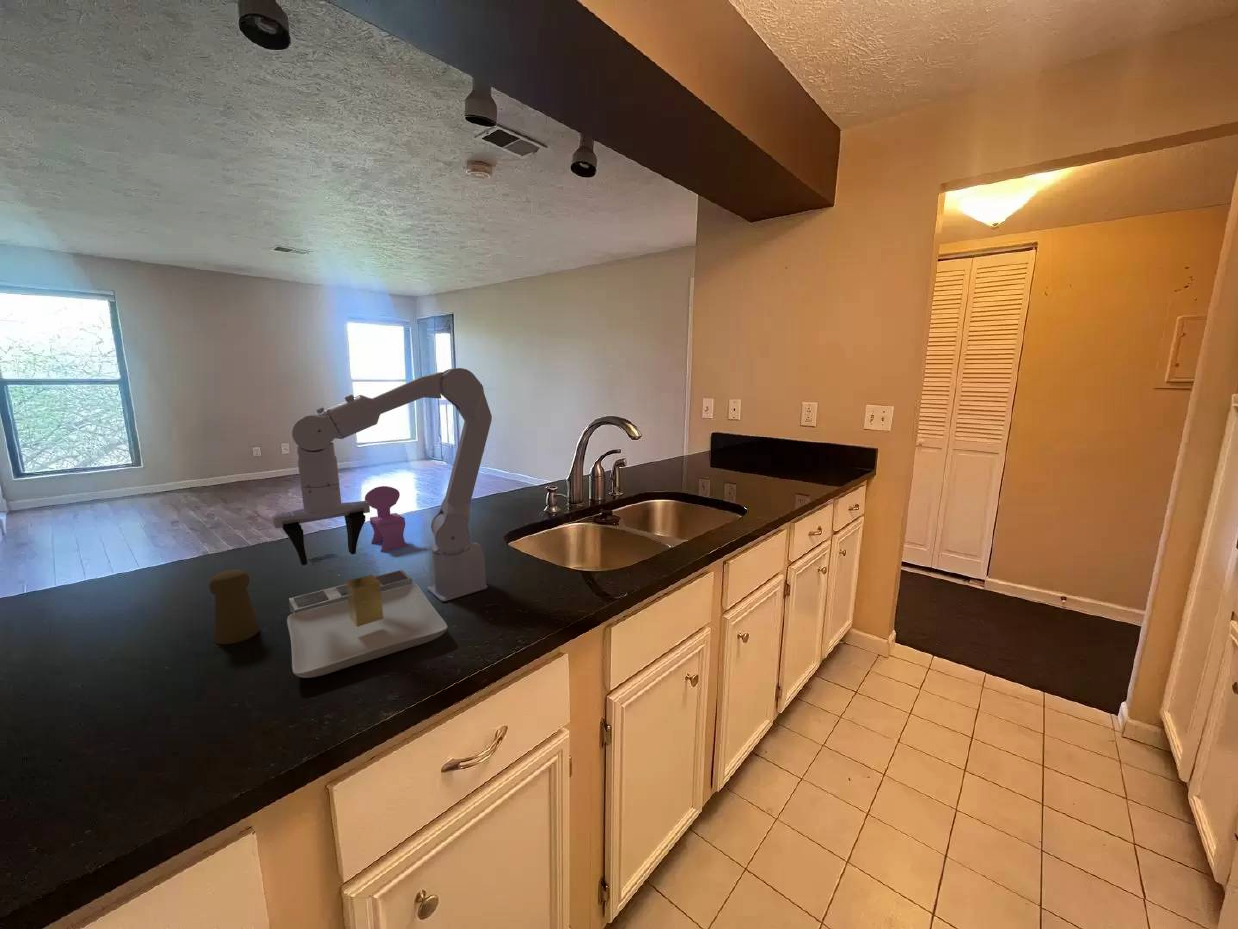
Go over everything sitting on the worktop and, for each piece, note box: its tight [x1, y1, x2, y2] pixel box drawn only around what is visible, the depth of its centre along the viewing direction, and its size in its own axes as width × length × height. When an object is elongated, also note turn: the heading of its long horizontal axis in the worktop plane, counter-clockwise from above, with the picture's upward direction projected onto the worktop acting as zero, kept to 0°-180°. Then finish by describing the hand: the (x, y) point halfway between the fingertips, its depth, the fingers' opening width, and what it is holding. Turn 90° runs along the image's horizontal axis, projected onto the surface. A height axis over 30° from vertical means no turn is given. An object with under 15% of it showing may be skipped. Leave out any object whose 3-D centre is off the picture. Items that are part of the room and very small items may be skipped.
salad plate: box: [286, 583, 449, 679], centre depth 80 cm, size 21×21×3 cm
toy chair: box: [364, 485, 408, 553], centre depth 123 cm, size 8×9×15 cm
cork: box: [208, 569, 261, 645], centre depth 80 cm, size 6×6×11 cm
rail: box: [288, 569, 413, 614], centre depth 93 cm, size 20×6×2 cm, turn 132°
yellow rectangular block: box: [345, 574, 383, 627], centre depth 80 cm, size 4×4×6 cm
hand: (328, 558), depth 87 cm, fingers open, 7 cm apart
